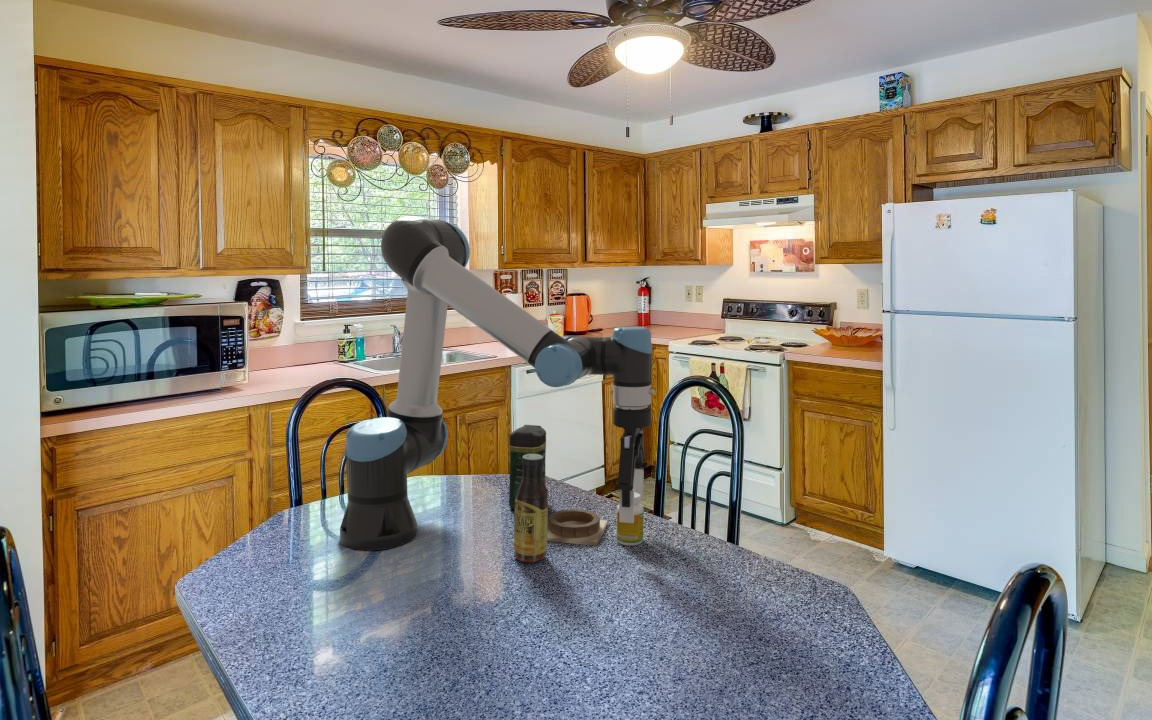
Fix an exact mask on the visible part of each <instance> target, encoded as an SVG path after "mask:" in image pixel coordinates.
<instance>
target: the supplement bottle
mask: <svg viewBox="0 0 1152 720" xmlns="http://www.w3.org/2000/svg"><path fill="white" fill-rule="evenodd" d="M644 512H645V511H644V506H643V505H642V504H641V500H640V494H639V493H636V492H634V523H625V522H619V504H618V505H617V507H616V530H615V531H616V533H615V534H616V535H615V537H616V542H617V543H619V544H620V545H622V546H628V547H629V546H631V547H632V546H638V545H640V544H642V543H644V542H643V541H644Z"/></svg>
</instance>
